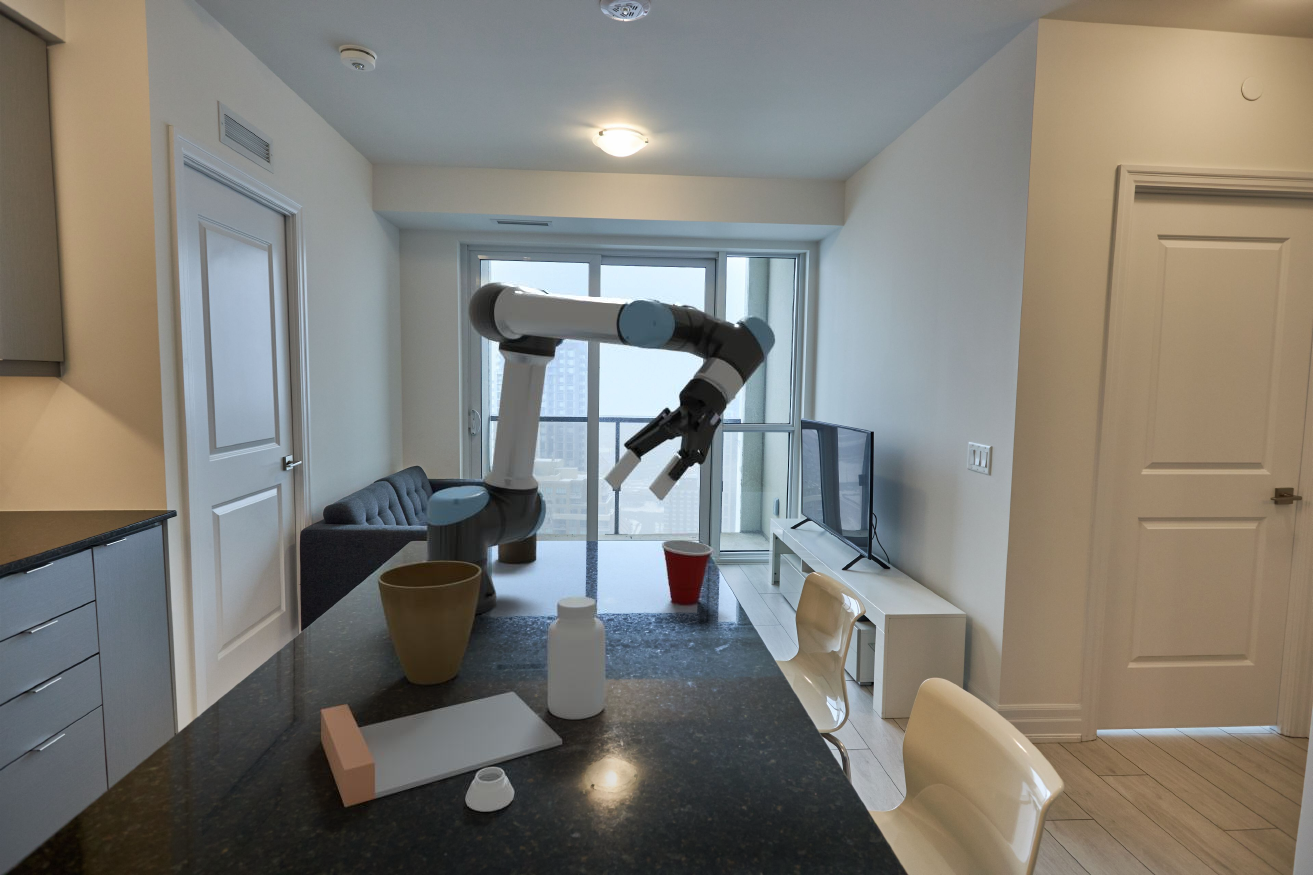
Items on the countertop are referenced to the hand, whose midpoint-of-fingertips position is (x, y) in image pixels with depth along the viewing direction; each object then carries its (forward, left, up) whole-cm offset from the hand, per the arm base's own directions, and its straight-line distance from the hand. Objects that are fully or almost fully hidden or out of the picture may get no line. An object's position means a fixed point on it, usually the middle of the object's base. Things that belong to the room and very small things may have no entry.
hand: (631, 489), depth 108 cm
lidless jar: (+22, -30, -29) cm, 48 cm away
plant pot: (-14, -27, -29) cm, 42 cm away
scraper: (+7, -31, -29) cm, 43 cm away
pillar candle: (-75, +12, -29) cm, 81 cm away
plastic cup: (-25, +29, -29) cm, 48 cm away
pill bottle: (+7, -13, -29) cm, 32 cm away
